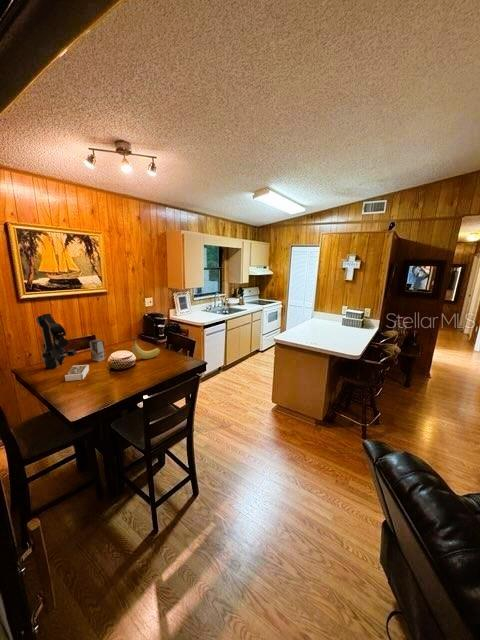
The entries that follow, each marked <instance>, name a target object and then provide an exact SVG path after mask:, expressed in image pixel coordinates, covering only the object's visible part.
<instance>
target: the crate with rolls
mask: <svg viewBox="0 0 480 640" xmlns="http://www.w3.org/2000/svg"><path fill="white" fill-rule="evenodd" d="M72 366H73V367H72ZM72 366H71V368H70V369H69V371H68V372H67V375H73V374H81V373H82V372H83V370H84V368H83V366H78V365H72Z"/></svg>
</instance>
